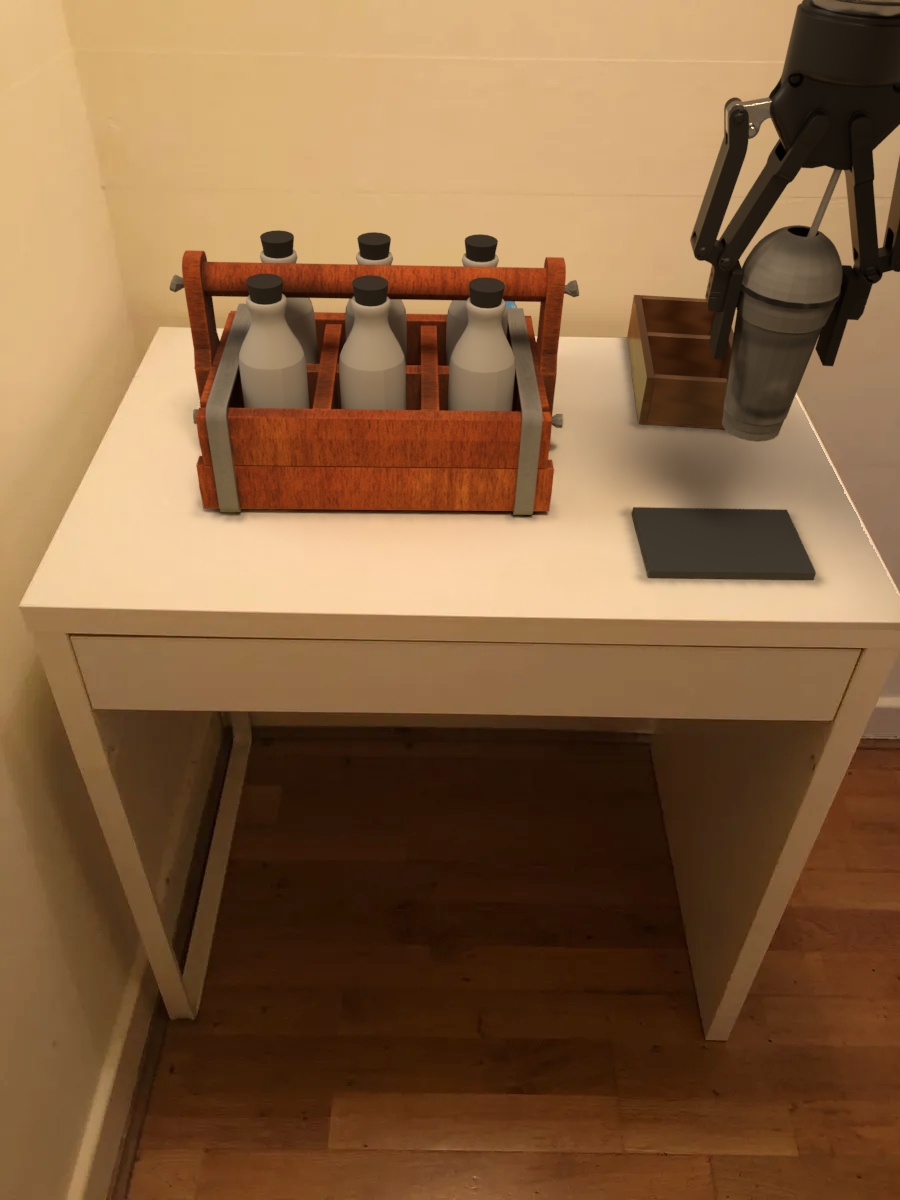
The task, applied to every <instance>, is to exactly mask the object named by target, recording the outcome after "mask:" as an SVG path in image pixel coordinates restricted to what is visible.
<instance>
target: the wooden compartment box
mask: <svg viewBox="0 0 900 1200" xmlns="http://www.w3.org/2000/svg"><path fill="white" fill-rule="evenodd" d="M715 314H716V312H710V311H709V310H708V306H707V302H706V298H695V297H682V296H681V297H678V296H662V295H646V294H633V298H632V305H631V309H630V317H629V323H628V329H627V336H626V340H627V347H628V356H629V362H630V370H631V377H632V385H633V391H634V400H635V407H636V414H637V421H638V425H653V426H665V427H666V426H668V427H684V428H698V429H699V428H700V429H714V430H715V429H716V430H725V428H724V427H723V425H722V419H723V411H724V397H725V390H726V383H727V377H728V370H729V363H730V356H731V349H732V342H733V335H734V328H733V326H732V327H731V332H730V336H729V340H728V344H727V349H726V353H725V357H724V360H722V359H714V358H713V354H712V351H711V347H710V343H709V341H710V336H711V332H712V327H713V323H714V318H715Z"/></svg>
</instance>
